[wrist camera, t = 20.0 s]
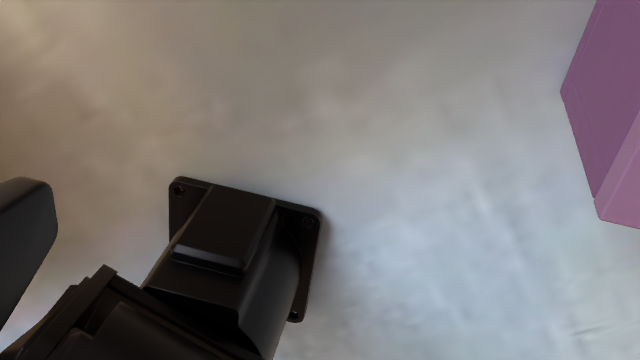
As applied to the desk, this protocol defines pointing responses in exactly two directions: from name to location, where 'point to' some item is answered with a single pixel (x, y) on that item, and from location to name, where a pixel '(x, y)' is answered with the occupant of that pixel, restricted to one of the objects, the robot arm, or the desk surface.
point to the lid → (622, 183)
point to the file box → (604, 86)
